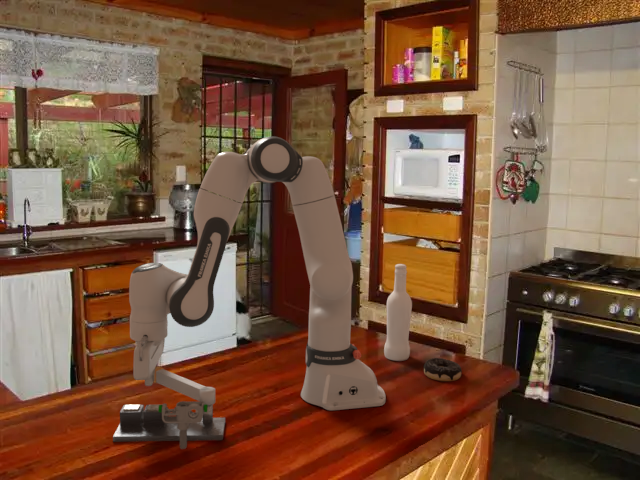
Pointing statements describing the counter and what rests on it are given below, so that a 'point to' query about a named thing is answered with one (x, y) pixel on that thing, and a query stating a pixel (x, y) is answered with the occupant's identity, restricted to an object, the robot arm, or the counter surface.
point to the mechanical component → (183, 416)
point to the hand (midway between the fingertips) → (149, 383)
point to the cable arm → (184, 386)
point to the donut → (442, 369)
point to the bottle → (398, 318)
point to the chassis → (174, 430)
